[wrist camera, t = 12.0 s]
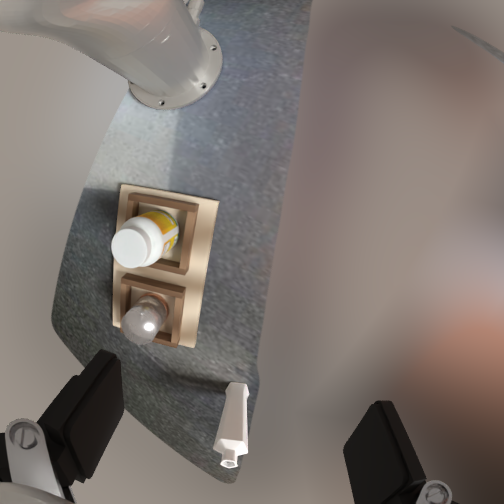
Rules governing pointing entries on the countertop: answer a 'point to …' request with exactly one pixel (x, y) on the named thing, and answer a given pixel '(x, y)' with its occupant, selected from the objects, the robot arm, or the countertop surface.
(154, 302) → the silver cylinder
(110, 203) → the countertop surface
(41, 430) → the robot arm
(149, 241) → the supplement bottle
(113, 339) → the countertop surface
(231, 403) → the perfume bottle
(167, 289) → the socket board
